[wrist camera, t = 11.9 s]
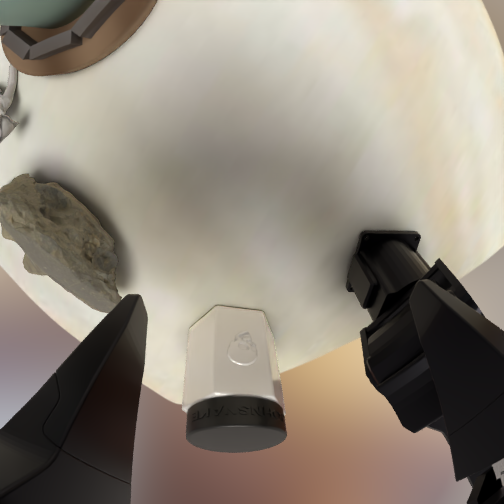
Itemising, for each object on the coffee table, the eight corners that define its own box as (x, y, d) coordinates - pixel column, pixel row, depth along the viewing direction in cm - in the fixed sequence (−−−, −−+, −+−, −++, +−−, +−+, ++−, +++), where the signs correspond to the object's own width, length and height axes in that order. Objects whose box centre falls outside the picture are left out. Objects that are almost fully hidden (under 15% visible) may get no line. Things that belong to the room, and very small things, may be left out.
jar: (285, 310, 27) (308, 424, 17) (263, 357, 31) (275, 452, 22) (192, 299, 25) (181, 421, 16) (187, 349, 30) (179, 449, 20)
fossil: (84, 142, 20) (-2, 192, 17) (55, 128, 11) (-62, 211, 8) (140, 282, 26) (59, 320, 23) (150, 345, 17) (40, 390, 14)
